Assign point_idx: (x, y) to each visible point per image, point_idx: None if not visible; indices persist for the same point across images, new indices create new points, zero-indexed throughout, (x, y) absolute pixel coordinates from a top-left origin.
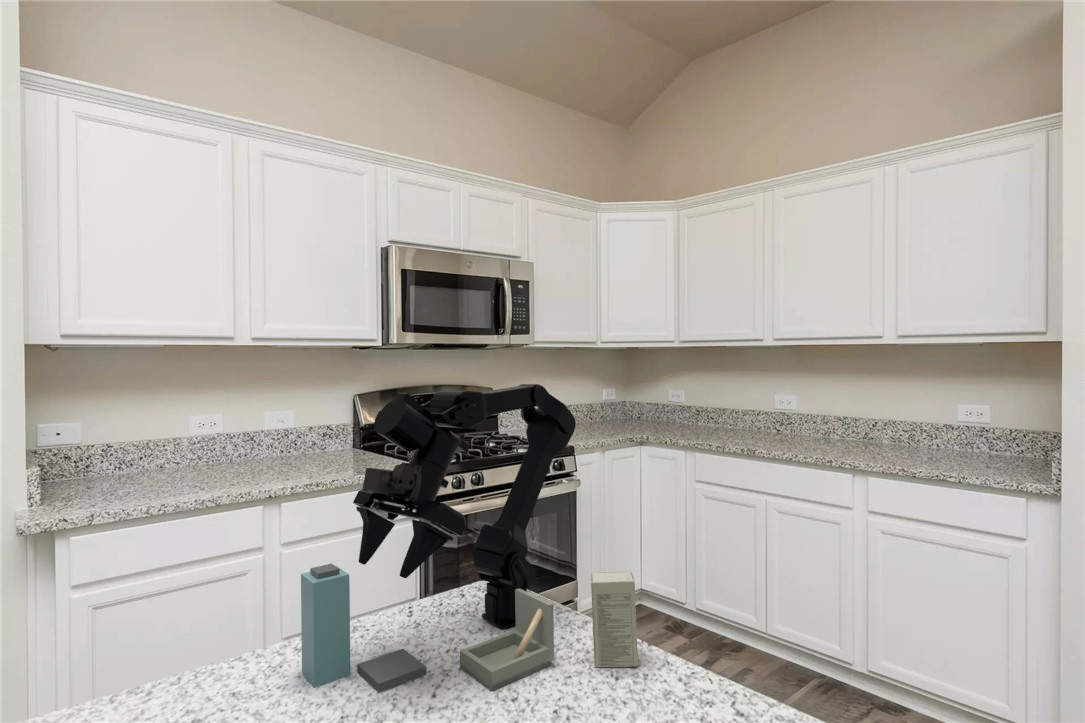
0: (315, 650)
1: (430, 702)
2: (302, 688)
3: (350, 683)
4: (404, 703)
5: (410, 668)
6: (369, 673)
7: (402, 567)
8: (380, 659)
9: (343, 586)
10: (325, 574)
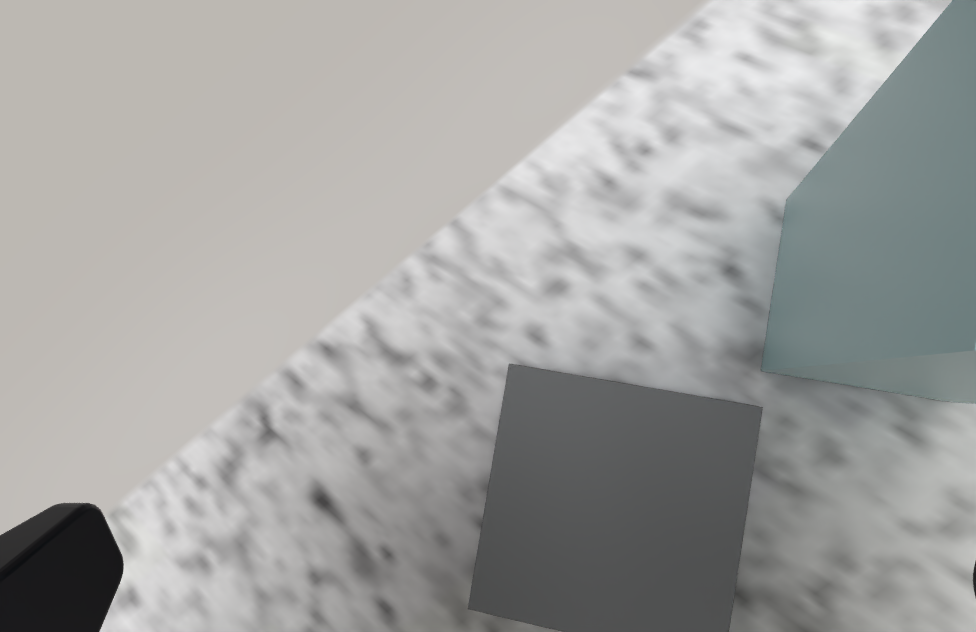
0: (828, 158)
1: (296, 457)
2: None
3: (690, 330)
4: (370, 386)
5: (510, 546)
6: (626, 391)
7: (3, 554)
8: (710, 512)
9: (934, 289)
10: None
